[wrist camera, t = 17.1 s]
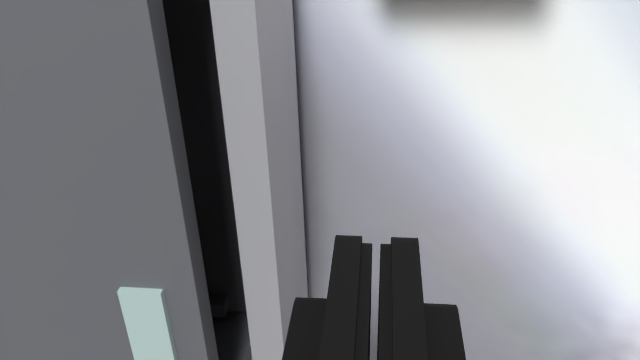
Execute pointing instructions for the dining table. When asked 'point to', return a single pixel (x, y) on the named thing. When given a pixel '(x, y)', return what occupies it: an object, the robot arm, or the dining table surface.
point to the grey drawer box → (99, 192)
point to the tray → (243, 156)
